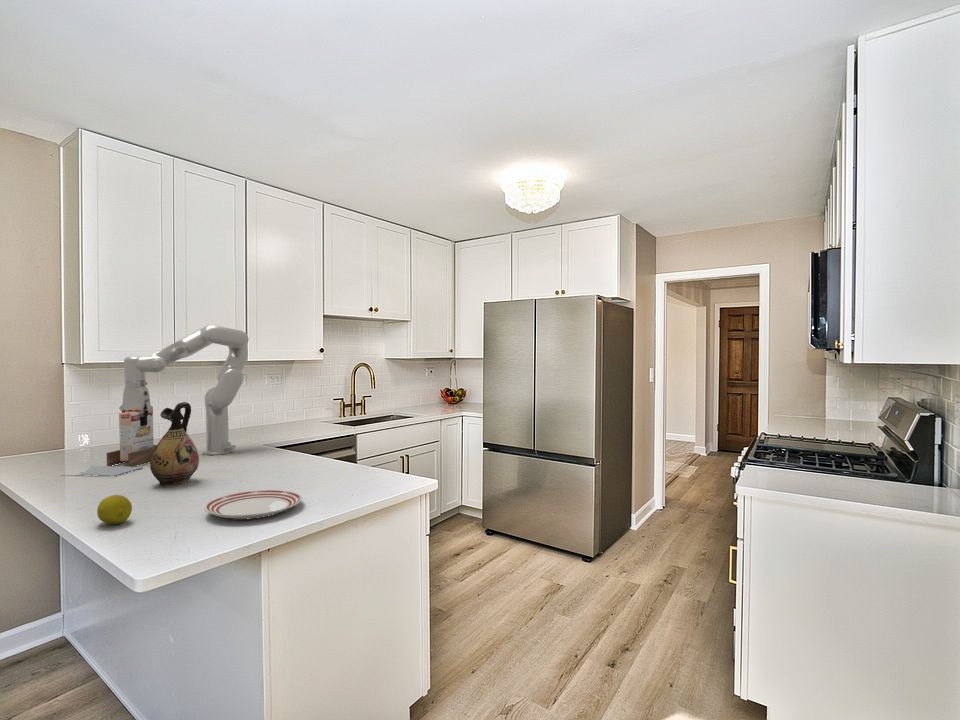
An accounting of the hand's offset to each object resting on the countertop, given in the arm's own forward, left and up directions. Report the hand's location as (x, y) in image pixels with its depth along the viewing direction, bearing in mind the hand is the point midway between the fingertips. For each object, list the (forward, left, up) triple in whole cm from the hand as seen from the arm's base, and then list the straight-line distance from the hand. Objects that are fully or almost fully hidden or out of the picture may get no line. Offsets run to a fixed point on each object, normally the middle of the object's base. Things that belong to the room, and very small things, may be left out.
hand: (136, 425), depth 221 cm
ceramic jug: (-43, +29, -17) cm, 55 cm away
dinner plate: (-90, +55, -17) cm, 107 cm away
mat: (0, +17, -17) cm, 24 cm away
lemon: (-57, +71, -17) cm, 93 cm away
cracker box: (0, 0, -15) cm, 15 cm away
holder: (0, 0, -17) cm, 17 cm away
